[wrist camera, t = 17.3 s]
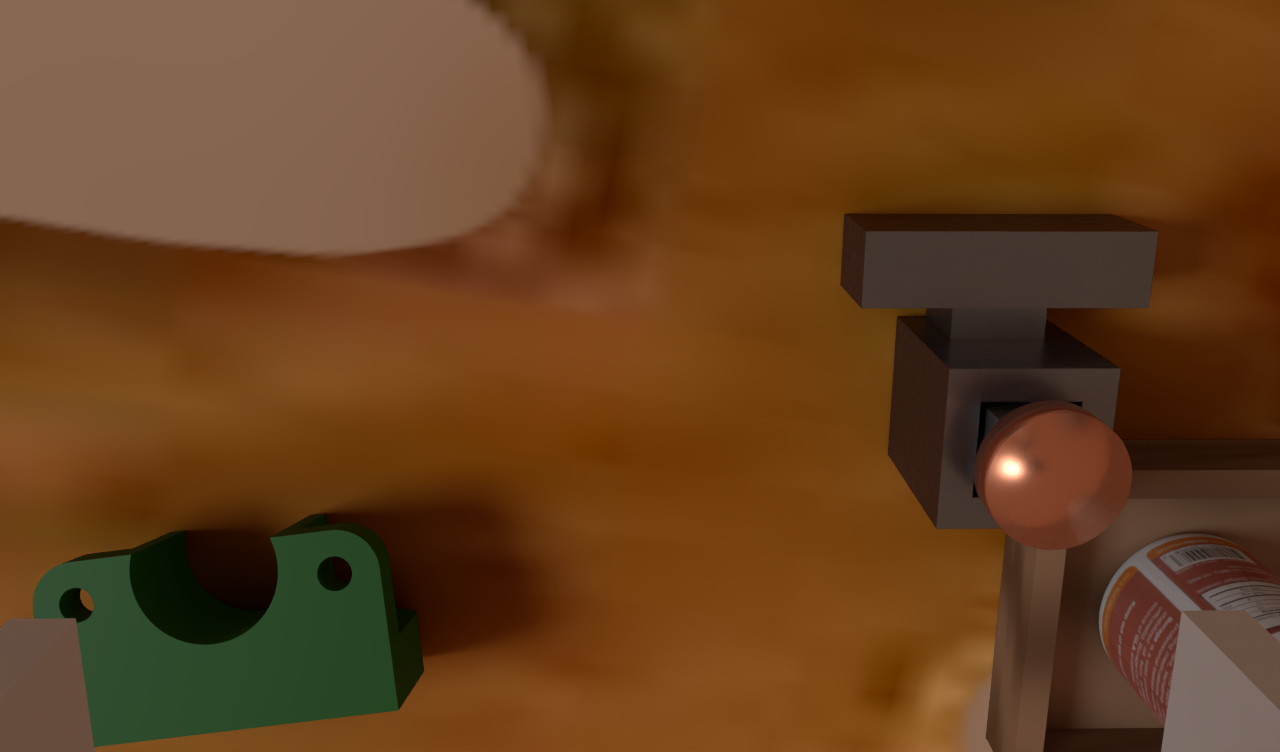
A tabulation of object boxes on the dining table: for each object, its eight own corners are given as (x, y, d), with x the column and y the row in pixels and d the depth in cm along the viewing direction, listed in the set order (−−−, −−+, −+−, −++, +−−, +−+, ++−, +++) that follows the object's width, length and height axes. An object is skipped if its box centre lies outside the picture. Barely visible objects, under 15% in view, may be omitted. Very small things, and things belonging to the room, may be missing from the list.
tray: (1015, 440, 42) (1045, 470, 39) (1350, 439, 42) (1404, 469, 39) (985, 737, 45) (1011, 785, 42) (1295, 734, 46) (1342, 782, 43)
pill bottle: (1161, 713, 44) (1336, 931, 33) (1058, 606, 43) (1207, 797, 32) (1297, 606, 43) (1525, 796, 32) (1196, 492, 41) (1399, 652, 31)
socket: (862, -123, 36) (914, -154, 30) (1151, -121, 37) (1262, -151, 30) (831, 454, 42) (870, 528, 36) (1084, 453, 42) (1166, 527, 36)
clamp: (377, 493, 47) (428, 515, 38) (397, 642, 47) (452, 697, 38) (39, 549, 42) (12, 588, 34) (63, 714, 42) (42, 795, 34)
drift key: (925, 345, 39) (993, 413, 32) (1046, 345, 39) (1140, 413, 32) (916, 460, 40) (980, 550, 33) (1034, 459, 40) (1123, 549, 33)
